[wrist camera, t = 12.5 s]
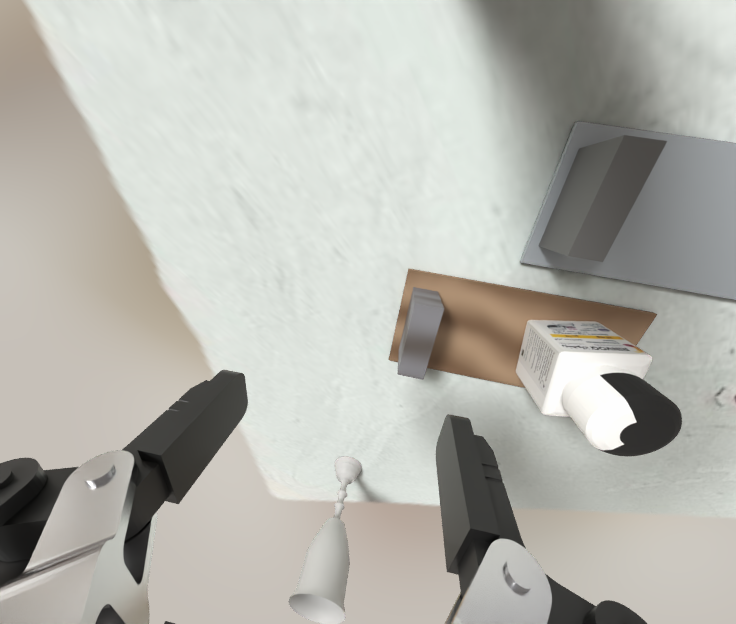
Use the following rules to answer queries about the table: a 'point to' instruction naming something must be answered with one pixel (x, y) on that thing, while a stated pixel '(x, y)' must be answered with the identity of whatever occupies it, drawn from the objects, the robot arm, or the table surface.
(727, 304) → the table surface
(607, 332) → the container
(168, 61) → the table surface
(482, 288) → the brown board
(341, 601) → the chalice
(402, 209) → the table surface
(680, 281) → the grey board with block
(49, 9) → the table surface
